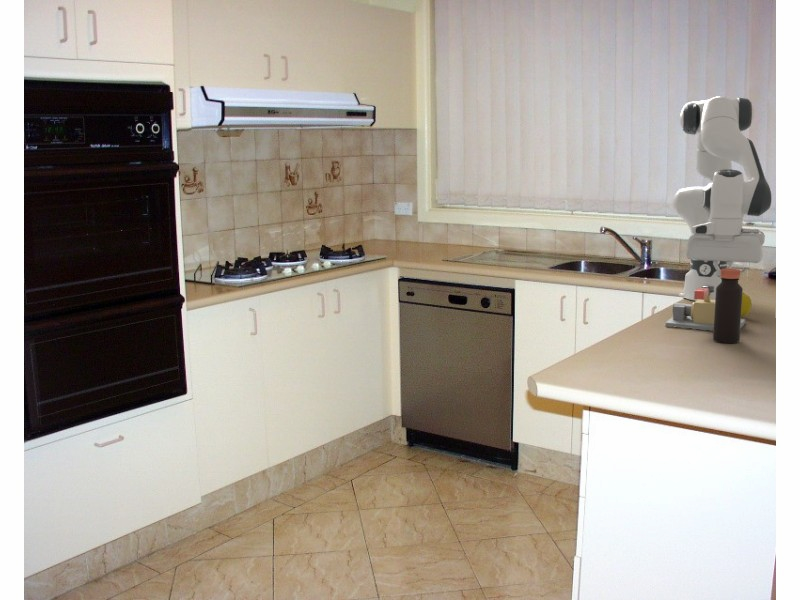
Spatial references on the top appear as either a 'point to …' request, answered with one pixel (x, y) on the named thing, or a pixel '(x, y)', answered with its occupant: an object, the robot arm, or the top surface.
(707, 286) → the lever
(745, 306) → the lemon
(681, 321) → the valve assembly
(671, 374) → the top surface
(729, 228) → the robot arm
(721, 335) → the bottle
